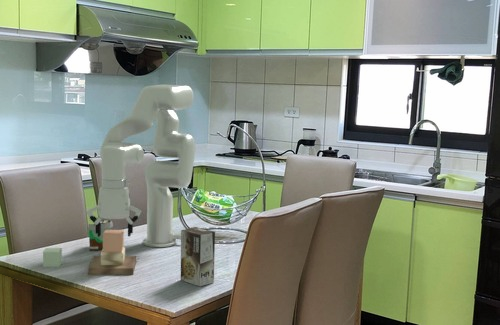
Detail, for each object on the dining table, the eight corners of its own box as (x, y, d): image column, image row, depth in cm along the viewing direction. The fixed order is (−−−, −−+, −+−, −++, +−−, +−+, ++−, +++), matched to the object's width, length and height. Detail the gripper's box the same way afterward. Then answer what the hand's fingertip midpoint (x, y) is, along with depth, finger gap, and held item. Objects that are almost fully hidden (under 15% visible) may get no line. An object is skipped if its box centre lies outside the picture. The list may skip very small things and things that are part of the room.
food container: (104, 253, 214) (104, 225, 213) (87, 251, 216) (87, 224, 214) (118, 244, 226) (118, 218, 225) (103, 243, 228) (103, 217, 226)
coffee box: (214, 282, 187) (216, 231, 185) (199, 287, 182) (200, 234, 180) (194, 275, 193) (195, 226, 191) (179, 280, 188) (180, 229, 186)
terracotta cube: (123, 247, 201) (123, 229, 200) (121, 252, 195) (122, 234, 194) (105, 247, 200) (105, 229, 199) (102, 252, 194) (102, 234, 193)
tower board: (136, 261, 206) (136, 255, 206) (133, 274, 192) (133, 268, 192) (94, 261, 204) (94, 255, 204) (87, 274, 190) (87, 268, 190)
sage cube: (61, 262, 202) (61, 247, 202) (58, 266, 198) (58, 251, 197) (46, 262, 202) (46, 247, 201) (43, 266, 197) (42, 251, 196)
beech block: (124, 258, 202) (125, 247, 201) (123, 265, 195) (123, 252, 194) (103, 258, 201) (103, 247, 200) (100, 265, 194) (100, 252, 194)
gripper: (141, 181, 200) (142, 232, 202) (88, 181, 198) (88, 232, 200) (140, 186, 192) (140, 238, 195) (84, 186, 190) (85, 238, 193)
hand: (114, 235), depth 197 cm, fingers open, 9 cm apart
